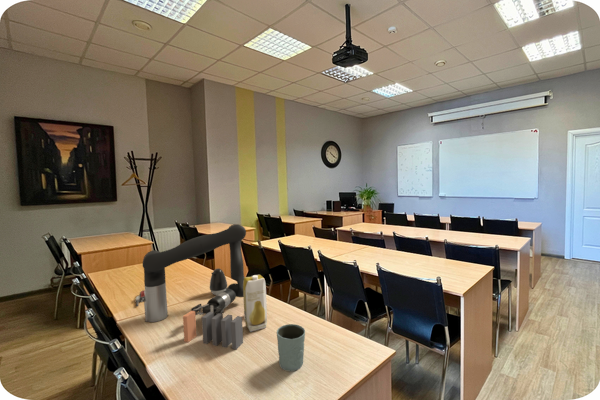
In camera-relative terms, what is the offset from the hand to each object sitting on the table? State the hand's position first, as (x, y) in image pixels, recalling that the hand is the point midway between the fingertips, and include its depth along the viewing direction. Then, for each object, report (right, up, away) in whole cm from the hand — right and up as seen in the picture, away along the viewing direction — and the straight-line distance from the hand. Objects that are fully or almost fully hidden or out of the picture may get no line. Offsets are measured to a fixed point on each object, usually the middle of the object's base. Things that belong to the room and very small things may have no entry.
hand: (196, 318), depth 122 cm
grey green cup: (+42, -7, -22) cm, 48 cm away
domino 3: (+12, -7, -7) cm, 15 cm away
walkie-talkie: (-45, -7, +39) cm, 60 cm away
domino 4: (+16, -7, -8) cm, 19 cm away
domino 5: (+20, -7, -10) cm, 24 cm away
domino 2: (+7, -7, -5) cm, 11 cm away
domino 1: (-1, -7, -4) cm, 8 cm away
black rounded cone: (-3, -5, +45) cm, 45 cm away
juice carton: (+25, -6, +4) cm, 27 cm away
